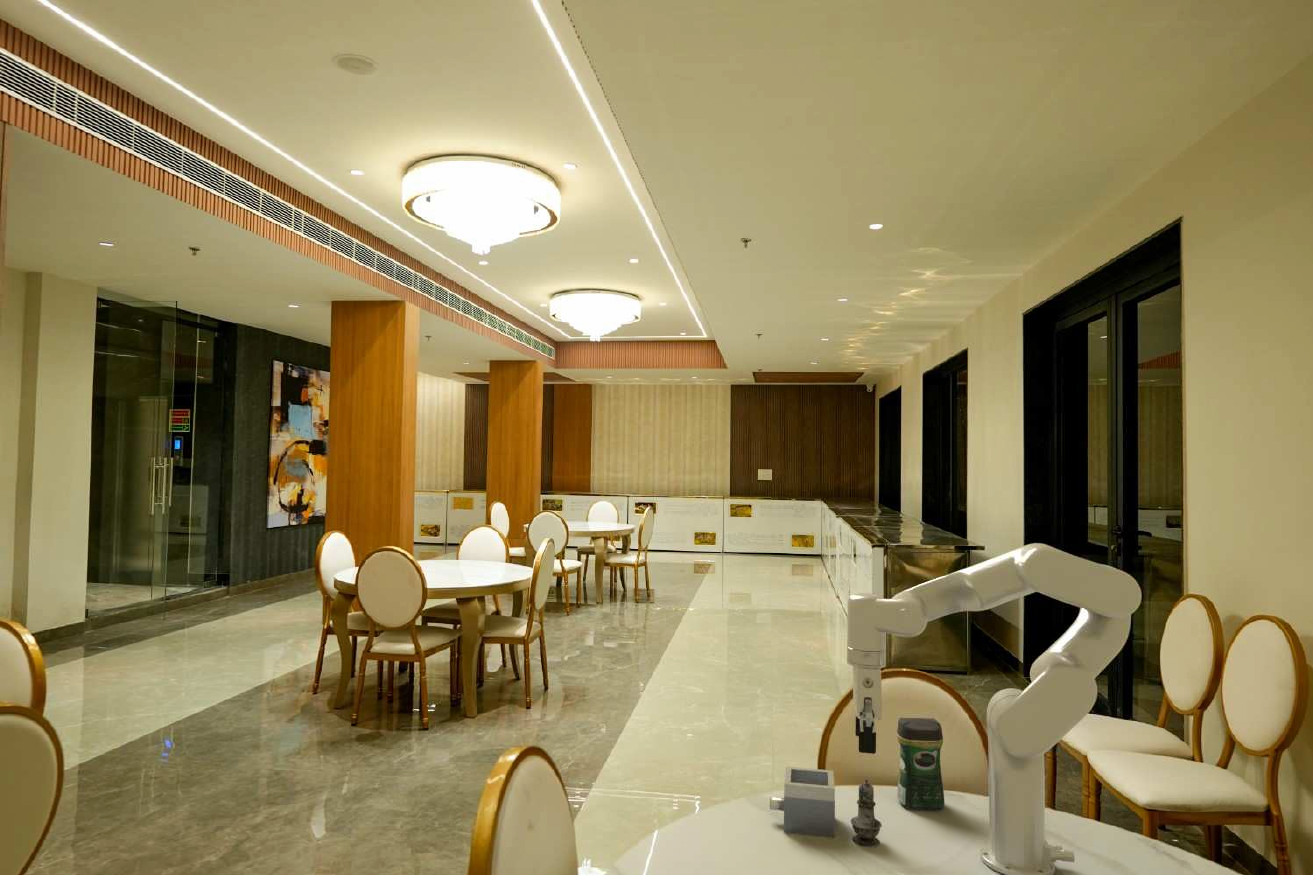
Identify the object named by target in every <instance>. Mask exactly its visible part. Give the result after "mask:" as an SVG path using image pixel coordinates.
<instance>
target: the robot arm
mask: <svg viewBox="0 0 1313 875" xmlns="http://www.w3.org/2000/svg"><path fill="white" fill-rule="evenodd" d="M1036 592H1037V593H1040V594H1042V595H1044V596H1047V597H1050V598H1052V599H1055V600H1058V601H1060V602H1063V603H1065V604H1069V605H1072V606H1075V607H1077V608H1079V613H1078V615H1077V617H1076V619H1075V620H1074V622H1073V623H1072V624H1071V625H1070V626H1069V627H1068V629H1066V631H1065V632H1064V633H1063V634H1062V635H1061V636H1060V637H1059V638H1058V639H1057V640H1056V641H1054V643H1053V644H1051V645H1050V646H1049V647H1048V648H1047V649H1046V650H1045V651H1044V652H1043V653H1041V655H1039V656H1038V657H1037V658H1036V659H1035V661H1034V662H1033V663H1032V664H1031V667H1030V671H1029V677H1030V681H1031V683H1029V685H1028V686H1026V688H1024V689H1023V690H1021V689H1017V688H1011V687H1010V688H1004V689H1001V690H998V691H997V692H996V693H995V694H994V695H993V696H992V697H991V698H990V700H989V702H988V704H987V709H986V731H987V732H986V733H987V745H988V746H987V747H988V837H989V838H988V843H986V844H984V845H983V846H982V847H980V853H979V854H980V855H979V856H980V859H981V861H982V862H983V863H984V864H985V865H986V866H987V867H989V868H990V869H992V870H993V871H996V872H998V873H1000V874H1003V875H1054V874H1055V873H1056V865H1055V863H1056V862H1057V861H1062V862H1067V863H1074V862H1075V860H1076V859H1075V858H1076V857H1075V853H1074V850H1071V849H1070V850H1069V849H1068V850H1067V849H1063V847H1062V844H1049V843H1048V842H1047V840H1046V814H1045V813H1046V803H1045V802H1046V801H1045V800H1046V799H1045V798H1046V797H1045V796H1046V795H1045V788H1046V787H1045V786H1046V785H1045V784H1046V781H1045V780H1046V778H1045V776H1046V774H1045V773H1046V772H1045V753H1047V752H1048V751H1050V750H1051V749H1052V748H1053V747H1054V746H1055V745H1056V744H1057V743H1059V742H1060V741H1061V740H1062V739H1063V738H1064V737H1065V736H1066V735H1067V734H1068V733H1070V731H1071V730H1072V729H1074V728H1075V727H1076V726H1077V725H1078V724H1079V723H1080V722H1081V721H1082V720H1083V719H1084V718H1085V717H1086V716H1088V714H1089V713H1090V711H1091V710H1092V708H1093V707H1094V705H1095V703H1096V701H1097V696H1098V685H1097V681H1096V678H1097V676H1099V675H1100V673H1101V672H1102V671H1104V669H1105V668H1106V667H1107V666H1108V665H1109V664H1110V663H1111V662H1112V661H1113V660H1114V659H1115V657H1116V656H1118V654H1119V653H1120V652H1121V650H1123V647H1124V646H1125V644H1126V643H1127V640H1128V637H1129V634H1130V630H1131V623H1132V622H1131V621H1132V614H1133V613H1135V612H1136V611H1137V609H1138V608H1139V607H1140V604H1141V602H1142V590H1141V587H1140V586H1139V583H1138V582H1137V580H1136V579H1135V578H1134V577H1133V576H1132V575H1131V574H1129V573H1127V572H1125V571H1123V570H1121V569H1117V568H1115V567H1114V566H1110V565H1108V564H1107V565H1106V564H1102V563H1097V562H1094V561H1092V560H1089V559H1086V558H1082V557H1079V556H1076V555H1073V554H1070V553H1069V552H1065V551H1062V550H1061V549H1058V548H1055V547H1053V546H1051V545H1048V544H1045V543H1041V542H1039V543H1037V542H1034V543H1029V544H1026V545H1022V546H1020V547H1018V548H1015V549H1012V550H1009V551H1007V552H1004V553H1003V554H1000V555H997V556H995V557H992V558H989V559H986V560H984V561H982V562H979V563H976V564H973V565H971V566H968V567H965V568H962V569H960V570H957V571H954V572H951V573H949V574H946V575H944V576H943V575H942V576H939V577H937V578H934V579H932V580H929V581H926V582H923V583H920V584H918V585H916V586H913V587H911V588H908V589H905V590H903V591H900V592H898V593H896V594H895V595H893V597H892V598H885V597H883V595H880V594H875V593H867V592H859V593H858V592H857V593H853V594H851V595H850V596H849V597H848V599H847V624H846V626H847V632H846V633H847V636H846V637H847V638H846V664H848V665H849V666H852V695H853V705H854V712H855V733H854V734H855V736H856V737H858V752H859V753H860V754H861V753H863V754H871V755H875V754H876V753H877V731H876V719H878V721H881V720H882V719H883V710H882V708H883V707H882V706H883V705H882V704H883V703H882V694H883V693H882V690H883V689H882V686H883V685H882V672H881V669H883V668H884V669H885V668H886V667H887V666H886V665H887V634H889V635H893V636H898V637H901V638H915V637H917V636H919V635H920V634H922V633H923V632H924V631H925V629H926V628H927V625H928V622H931V621H934V620H938V619H939V618H942V617H944V616H948V615H951V614H955V613H959V612H961V613H962V612H981V611H985V610H989V609H992V608H995V607H998V606H1001V605H1004V604H1005V603H1008V602H1010V601H1011V602H1012V601H1014V600H1016V599H1018V598H1022V597H1025V596H1028V595H1031V594H1034V593H1036Z"/></svg>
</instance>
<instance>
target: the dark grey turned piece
mask: <svg viewBox="0 0 1313 875" xmlns="http://www.w3.org/2000/svg"><path fill="white" fill-rule="evenodd" d="M863 781H864V782H862V783H860V784H859V785H858V799H857V800H856V804H857V806H858V807H857V808H858V809H857V810H858V811H857V816H854V817H852V818H851V819H850V823H851V825H852V828H853V831H854V833H855V835H854V836H852V837H851V838H852V839H851V841H852V842H853V844H855V845H857V846H859V847H863V848H870V849H871V848H876V847H879V846H880V845H881V841H880V839H879V838H878V837H877V836H878V835H879V834H880V831H881V828H882V825H883V824H882V822H881V821H880V820H878V819H877V818H876V817H875V807H876V804H877V803H876V801H875V800H874V799H875V795H874V794H875V792H874V791H875V790H874V786H873V785H872V784H870V783H869V781H868V779H867V778H865V780H863Z"/></svg>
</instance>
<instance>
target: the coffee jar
mask: <svg viewBox="0 0 1313 875" xmlns="http://www.w3.org/2000/svg"><path fill="white" fill-rule="evenodd" d="M896 737H897V740H898V743H899V749H900V751H899V752H900V753H899V754H900V755H899V756H900V757H899V771H898V772H899V774H898V782H897V800H898V802H899V803H900V805H902V806H903V807H906V808H907V809H909V810H915V811H916V810H917V811H940V810H942V809H943V808H944V807H945V794H944V793H945V792H944V784H943V777H942V768H941V748H942V747H943V743H944V736H943V729H942V725H941V723H940V722H939V721H938V720H937V719H936V718H933V717H932V718H931V717H929V718H927V717H925V718H924V717H899V719H898V722H897V730H896Z"/></svg>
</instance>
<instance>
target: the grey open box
mask: <svg viewBox="0 0 1313 875" xmlns="http://www.w3.org/2000/svg"><path fill="white" fill-rule="evenodd" d="M784 773H785V774H784V783H783V784H784V785H783V787H784V790H783V792H784V793H783V794H784V795H783V797H773V796H769V797H770V798H769V810H771V811H780V812H781V811H783V833H784V834H785V833H786V834H794V835H795V834H796V835H805V836H813V837H814V836H815V837H825V838H833V839H834V838H835V837H836V819H835V818H836V800H835V797H836V795H835V794H836V793H835V792H836V790H835V789H836V788H835V777H834V770H827V769H819V768H818V769H816V768H807V767H806V768H805V767H795V766H794V767H793V766H785V772H784Z"/></svg>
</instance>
